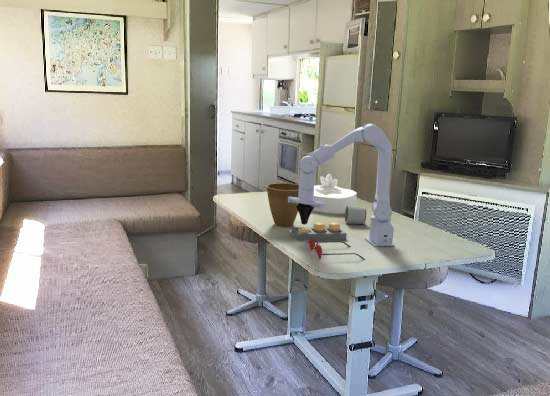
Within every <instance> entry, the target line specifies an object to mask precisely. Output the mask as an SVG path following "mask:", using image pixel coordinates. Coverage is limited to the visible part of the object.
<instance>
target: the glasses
mask: <svg viewBox="0 0 550 396" xmlns="http://www.w3.org/2000/svg"><path fill="white" fill-rule="evenodd" d="M311 238H312V237H311ZM311 238H310V240H307V241H306V243H307V244H308V246H309V249H310V251H313V250H315V252H316V255H317V258H318V261H320V260H321V259H322V256H330V255H331V256H333V255H334V256H335V255H339V256H340V255H356V256H358V257H359V258H360V259H362V260H364V261H365V260H366V258H364V257H363V256H361V255H360V254H358V253H355V252H349V253H348V252H347V253H346V252H344V253H343V252H342V253H339V252H338V253H323V248H322V246H321V245H320V244H321V243H343V244H344V245H345V246H347V247H348V248H351V245H349V244H348V243H346V241H345V242H344V241H341V240H340V241H339V240H320V241H317V240H314V239H311Z"/></svg>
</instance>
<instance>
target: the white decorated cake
mask: <svg viewBox="0 0 550 396" xmlns="http://www.w3.org/2000/svg"><path fill="white" fill-rule="evenodd" d="M319 179H320V183H321V184H320V185H314V200H316V201H319V202H322V203H324V208H322V209H320V208H317V207H314V209H313V210H312V212H313V211H314V212H319V213H325V214H337V215H338V214H345V210H346V207H347V205H349V206H357V196H358V195H357V194H358V192H356V191H355V190H353V189H349V188H342V187H340V186H338V182H339V180H338V179H337V178H334V179H333V176H332V174H331V173H328V174H327V175H326V176H325V177H324V176H323V175H321V176H320V177H319Z"/></svg>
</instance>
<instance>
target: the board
mask: <svg viewBox="0 0 550 396" xmlns="http://www.w3.org/2000/svg"><path fill="white" fill-rule="evenodd" d="M300 227H301V226H299V227H298V226H297V227H296V226H295V227H294V226H291V229H289V232H290V233H291V235H293V237H294V238H295V239H296V240H297V241H309V240H310V238H311V237H312V238H311V239H314V240H315V241H339V240H340V241H341V240H346V241H347V235H348V233H347V232H346V231H345V230H343V229H342V228H341V227H340V232H329V231H328V228H329V226H325V232H314V231H313V226H305V227H306V228H309V229H310V232H301V233H299V232H298V228H300Z"/></svg>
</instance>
